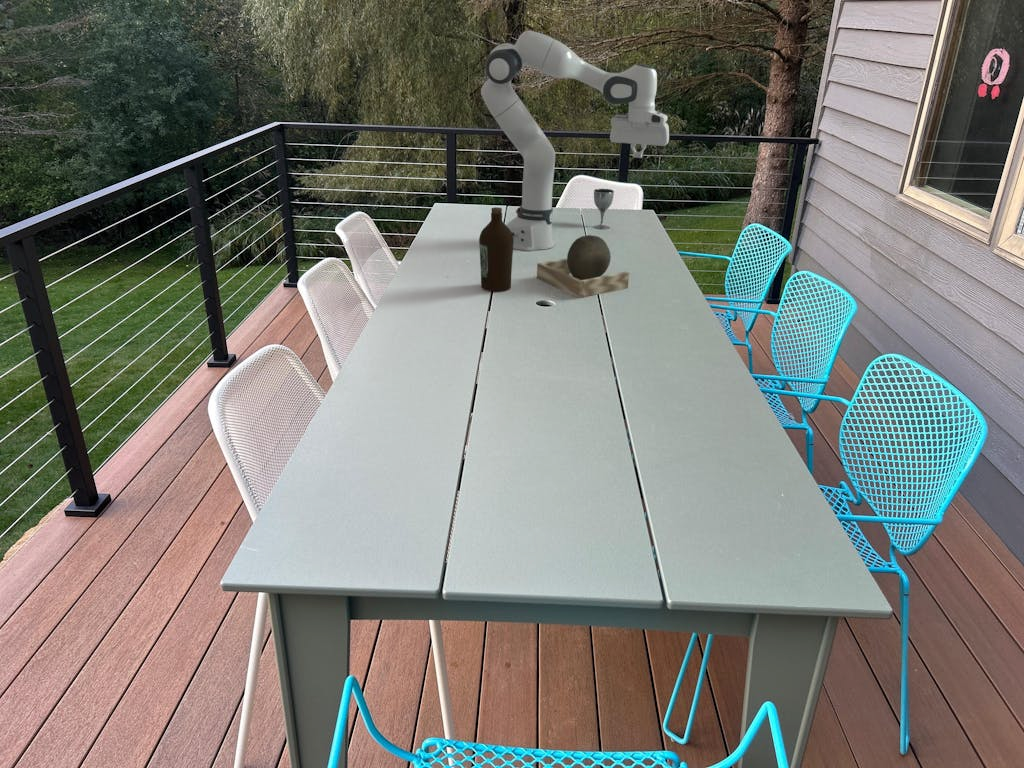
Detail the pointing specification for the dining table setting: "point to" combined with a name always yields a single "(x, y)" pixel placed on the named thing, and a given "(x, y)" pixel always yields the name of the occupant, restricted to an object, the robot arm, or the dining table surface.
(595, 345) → the dining table surface
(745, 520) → the dining table surface
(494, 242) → the olive oil
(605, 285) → the box
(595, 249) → the cantaloupe
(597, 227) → the wine glass
